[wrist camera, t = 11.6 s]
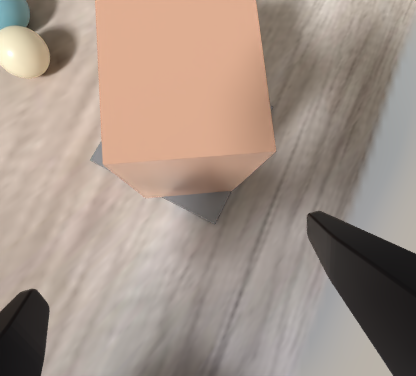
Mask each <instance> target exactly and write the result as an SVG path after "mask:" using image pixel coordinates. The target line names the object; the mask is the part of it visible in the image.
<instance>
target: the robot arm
mask: <svg viewBox="0 0 416 376" xmlns="http://www.w3.org/2000/svg"><path fill="white" fill-rule="evenodd" d="M307 235H308V238H309V240H310V242H311V244H312V246H313V248H314V250H315V252H316V254H317V256H318V258H319V260H320V262H321V264H322V266H323V268H324V270H325V272H326V273H327V275H328V277H329V279H330V281H331V282H332V284H333V285H334V287H335V288H336V290H337V291H338V293H339V294H340V296H341V297H342V299H343V300H344V302H345V303H346V305H347V306H348V308H349V309H350V311H351V313H352V314H353V316H354V317H355V319H356V320H357V321H358V323H359V324H360V326H361V328H362V329H363V331H364V332H365V333H366V335H367V336H368V338H369V340H370V341H371V343H372V344H373V346H374V347H375V349H376V350H377V352H378V353H379V355H380V356H381V358H382V359H383V361H384V362H385V363H386V365H387V367H388V368H389V370H390V371H391V373H392V374H393V376H416V254H415V253H413V252H411V251H408V250H406V249H404V248H402V247H400V246H397V245H395V244H393V243H391V242H388V241H386V240H384V239H382V238H379V237H377V236H375V235H373V234H371V233H368V232H366V231H364V230H361V229H360V228H357V227H355V226H353V225H351V224H348V223H346V222H344V221H342V220H339V219H337V218H335V217H333V216H331V215H328V214H326V213H324V212H322V211H316V212H312V213H309V214H308V215H307ZM48 321H49V305H48V303H47V302H46V301H45V299H44V298H43V297H42V296H41V294H40V293H39V292H38V291H37V290H36V289H29V290H26V291H22V292H20V293H19V294H18V295H17V296H16V297H15V298H14V299H13V300H12V301H11V302H10V303H9V304H8V305H7V306H6V307H5V308H4V309H3V310H2V311H1V312H0V376H41V372H42V367H43V362H44V356H45V348H46V339H47V330H48Z"/></svg>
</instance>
